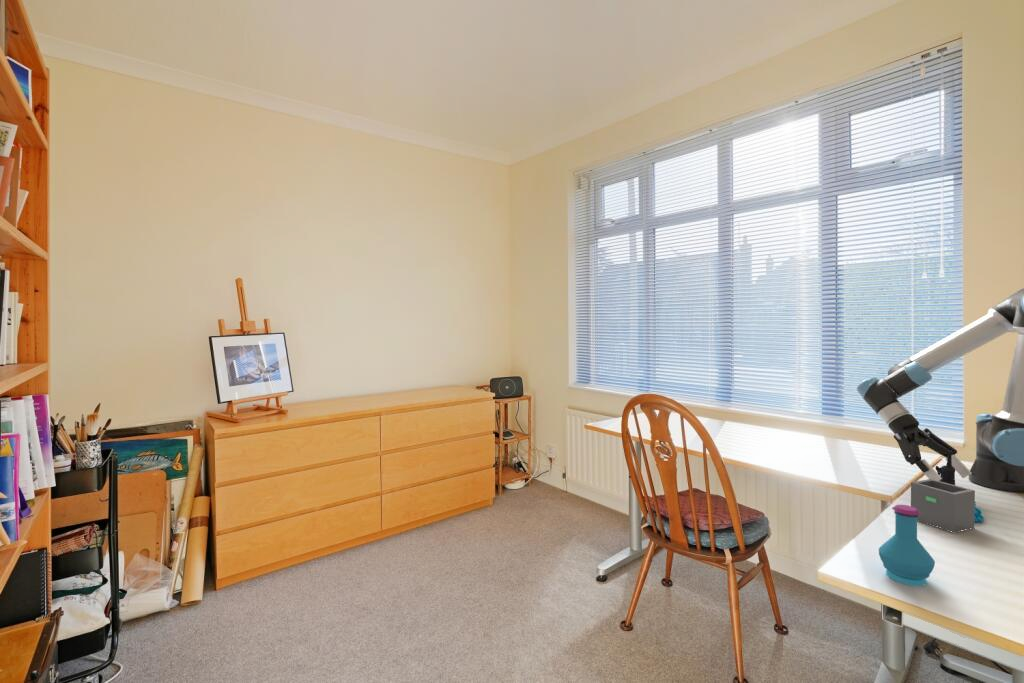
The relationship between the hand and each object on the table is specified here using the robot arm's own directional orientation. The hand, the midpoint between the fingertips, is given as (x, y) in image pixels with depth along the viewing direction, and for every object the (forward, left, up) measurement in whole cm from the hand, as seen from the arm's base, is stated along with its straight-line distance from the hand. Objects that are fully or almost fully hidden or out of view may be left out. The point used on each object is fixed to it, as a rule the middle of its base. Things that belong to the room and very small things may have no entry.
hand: (952, 478), depth 142 cm
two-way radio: (0, -2, -7) cm, 7 cm away
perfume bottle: (+59, +24, -7) cm, 64 cm away
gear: (+11, +9, -7) cm, 16 cm away
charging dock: (+21, +9, -7) cm, 24 cm away
